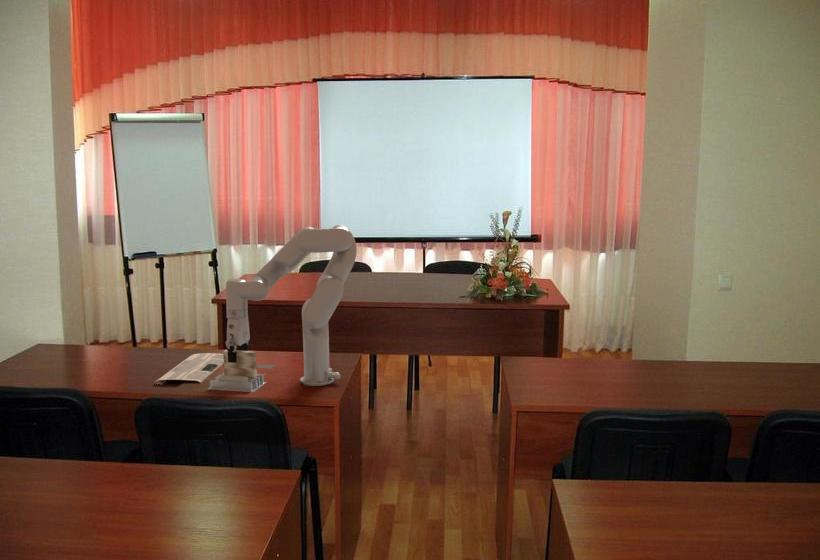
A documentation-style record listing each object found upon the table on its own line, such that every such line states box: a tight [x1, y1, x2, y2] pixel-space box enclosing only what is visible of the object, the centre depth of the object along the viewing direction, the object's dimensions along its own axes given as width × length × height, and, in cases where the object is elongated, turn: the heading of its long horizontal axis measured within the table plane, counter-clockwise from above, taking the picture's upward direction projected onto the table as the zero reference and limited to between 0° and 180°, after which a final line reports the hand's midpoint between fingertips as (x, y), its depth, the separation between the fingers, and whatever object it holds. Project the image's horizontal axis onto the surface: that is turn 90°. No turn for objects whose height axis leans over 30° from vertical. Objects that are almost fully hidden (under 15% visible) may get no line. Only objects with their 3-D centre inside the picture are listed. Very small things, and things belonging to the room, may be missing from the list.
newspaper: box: [153, 352, 224, 386], centre depth 297 cm, size 37×19×3 cm, turn 176°
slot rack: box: [207, 371, 268, 393], centre depth 274 cm, size 18×12×4 cm, turn 78°
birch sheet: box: [222, 349, 258, 377], centre depth 276 cm, size 12×2×12 cm, turn 78°
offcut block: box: [219, 374, 248, 382], centre depth 271 cm, size 10×3×4 cm, turn 78°
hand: (238, 358), depth 276 cm, fingers open, 9 cm apart
